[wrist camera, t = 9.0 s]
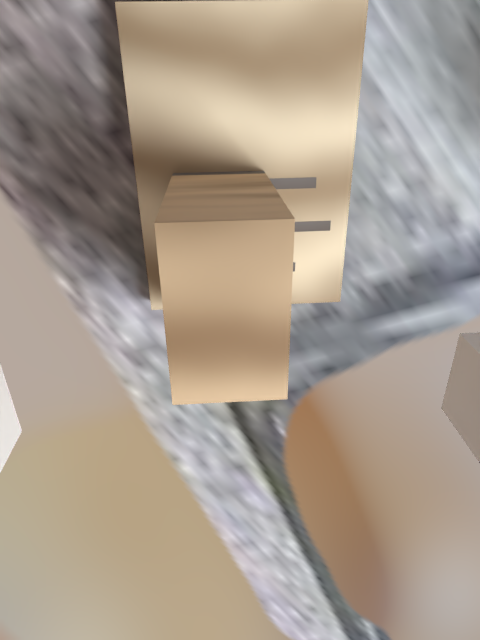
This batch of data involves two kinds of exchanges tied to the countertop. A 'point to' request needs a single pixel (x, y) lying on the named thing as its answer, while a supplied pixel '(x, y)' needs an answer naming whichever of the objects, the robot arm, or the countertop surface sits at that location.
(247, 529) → the countertop surface
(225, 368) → the block
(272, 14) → the board
